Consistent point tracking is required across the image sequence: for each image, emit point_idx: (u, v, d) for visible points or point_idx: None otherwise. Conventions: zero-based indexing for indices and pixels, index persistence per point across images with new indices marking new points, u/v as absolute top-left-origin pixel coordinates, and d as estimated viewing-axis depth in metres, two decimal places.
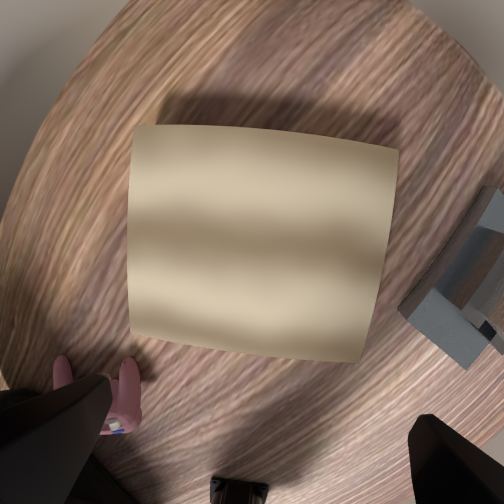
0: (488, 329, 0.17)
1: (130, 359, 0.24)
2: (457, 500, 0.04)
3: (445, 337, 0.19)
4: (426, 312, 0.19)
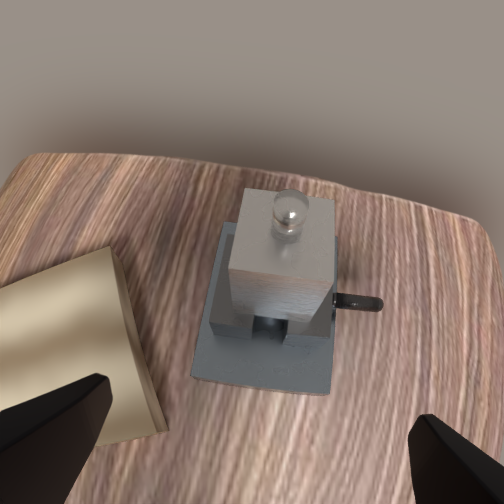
0: (286, 328, 0.18)
1: None
2: (457, 500, 0.04)
3: (255, 373, 0.19)
4: (208, 358, 0.19)
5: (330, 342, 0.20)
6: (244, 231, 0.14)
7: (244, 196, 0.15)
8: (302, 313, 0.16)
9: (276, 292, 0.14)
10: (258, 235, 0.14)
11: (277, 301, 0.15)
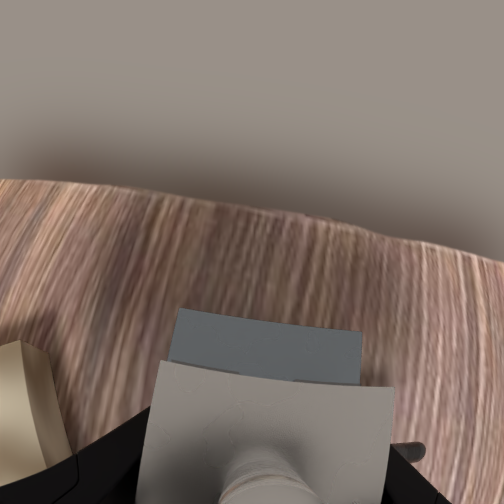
0: None
1: None
2: None
3: None
4: None
5: None
6: (157, 490, 0.04)
7: (158, 388, 0.05)
8: None
9: None
10: None
11: None
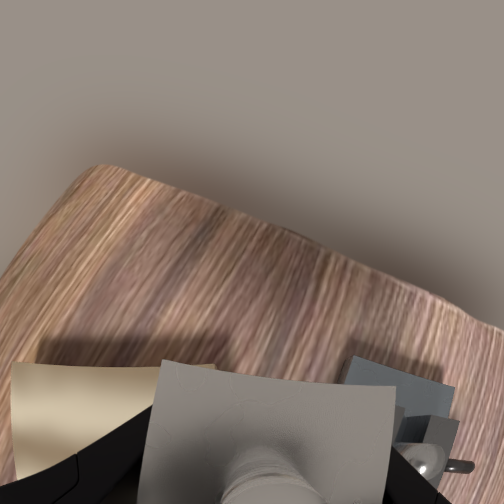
0: None
1: None
2: None
3: None
4: None
5: None
6: (159, 489, 0.04)
7: (159, 387, 0.05)
8: None
9: None
10: None
11: None
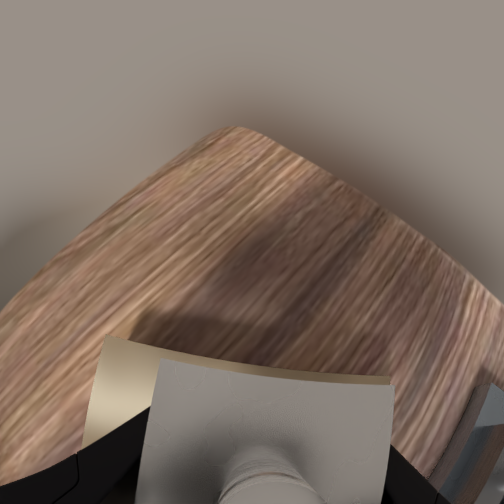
0: None
1: None
2: None
3: None
4: None
5: None
6: (158, 488, 0.04)
7: (158, 386, 0.05)
8: None
9: None
10: (191, 503, 0.04)
11: None
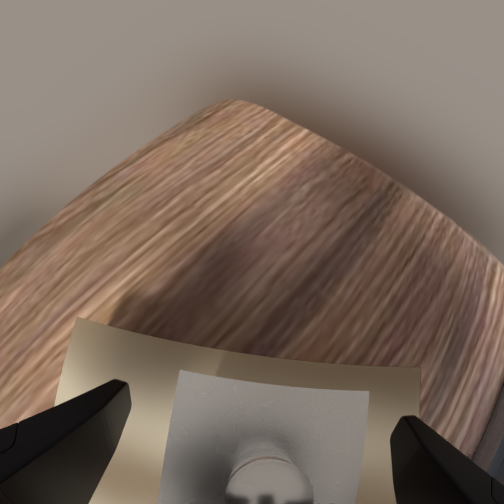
0: None
1: None
2: None
3: None
4: None
5: None
6: (178, 474, 0.05)
7: (178, 392, 0.06)
8: None
9: None
10: (206, 486, 0.05)
11: None
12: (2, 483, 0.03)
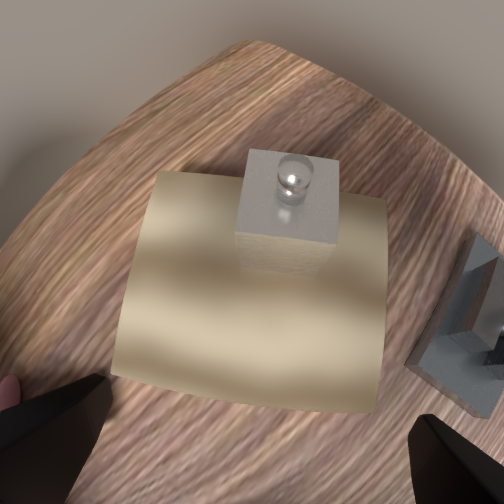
0: (502, 357, 0.15)
1: None
2: (457, 500, 0.04)
3: (459, 382, 0.17)
4: (436, 355, 0.17)
5: None
6: (249, 193, 0.14)
7: (249, 157, 0.14)
8: (307, 269, 0.17)
9: (282, 251, 0.15)
10: (263, 197, 0.14)
11: (283, 259, 0.16)
12: None
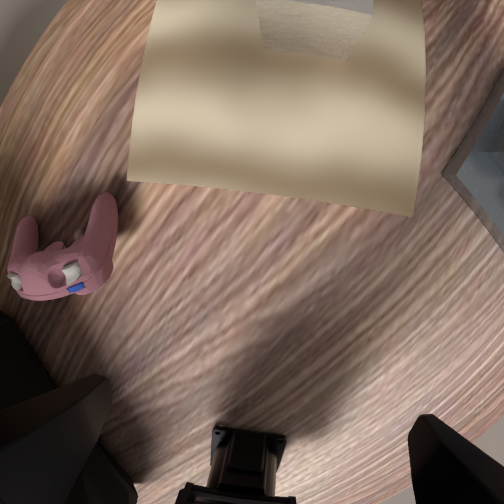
0: None
1: (109, 194, 0.19)
2: (457, 500, 0.04)
3: (496, 208, 0.15)
4: (474, 170, 0.15)
5: None
6: None
7: None
8: (339, 50, 0.12)
9: (310, 23, 0.10)
10: None
11: (311, 34, 0.11)
12: None
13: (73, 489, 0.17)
